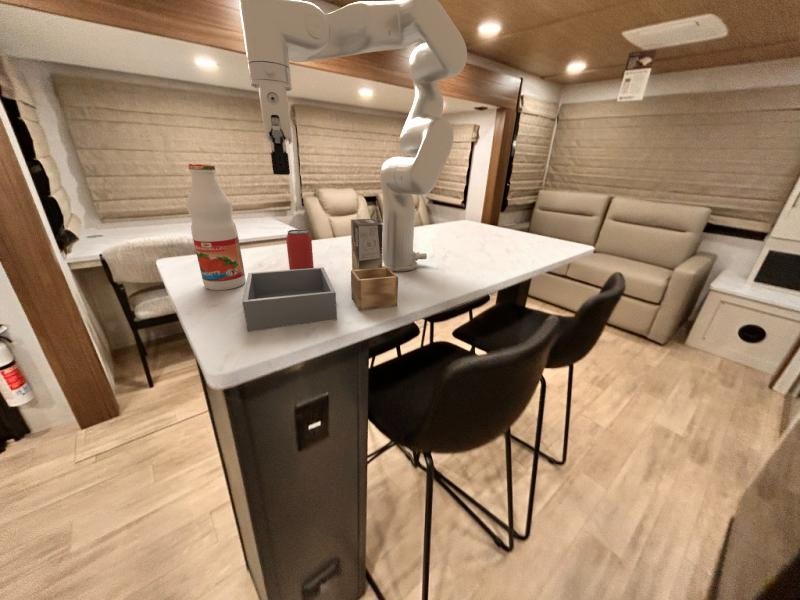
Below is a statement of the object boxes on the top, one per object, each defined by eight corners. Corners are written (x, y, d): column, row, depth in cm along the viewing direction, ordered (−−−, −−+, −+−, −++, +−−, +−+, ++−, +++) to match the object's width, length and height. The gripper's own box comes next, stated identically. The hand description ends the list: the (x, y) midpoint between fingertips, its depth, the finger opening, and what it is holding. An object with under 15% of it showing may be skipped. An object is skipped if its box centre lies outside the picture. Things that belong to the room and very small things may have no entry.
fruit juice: (253, 279, 82) (234, 165, 71) (232, 292, 74) (207, 165, 62) (219, 276, 83) (195, 163, 72) (195, 289, 74) (163, 163, 63)
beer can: (310, 277, 85) (306, 234, 80) (286, 276, 85) (281, 233, 80) (316, 270, 91) (313, 229, 86) (294, 269, 91) (290, 228, 86)
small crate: (387, 294, 76) (388, 267, 73) (397, 305, 70) (398, 276, 67) (351, 298, 73) (350, 270, 70) (358, 310, 67) (358, 280, 64)
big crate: (325, 290, 77) (323, 267, 75) (337, 319, 63) (335, 292, 61) (252, 297, 72) (248, 272, 69) (247, 331, 57) (242, 301, 55)
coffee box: (382, 285, 82) (383, 224, 75) (359, 288, 79) (358, 225, 73) (372, 274, 89) (373, 218, 83) (351, 276, 87) (349, 218, 81)
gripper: (291, 70, 54) (301, 175, 61) (290, 89, 69) (298, 172, 76) (244, 64, 52) (260, 175, 59) (253, 85, 66) (265, 171, 73)
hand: (282, 173), depth 67 cm, fingers open, 9 cm apart
